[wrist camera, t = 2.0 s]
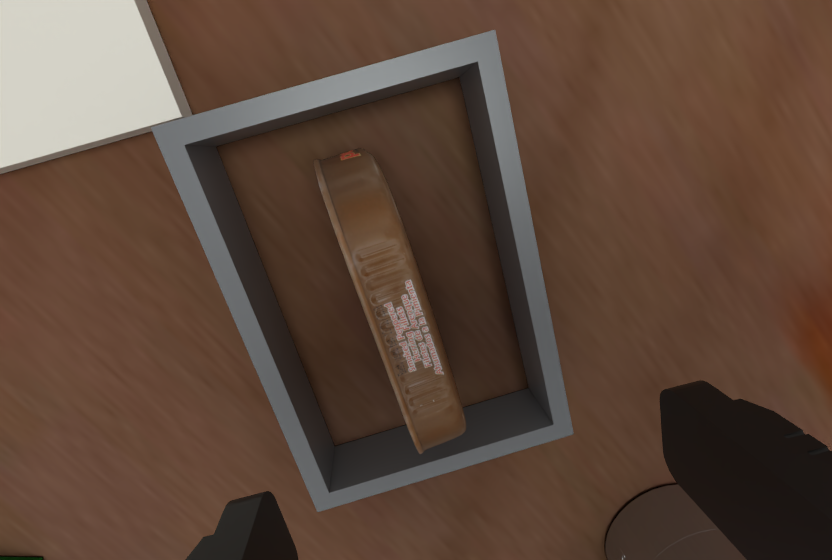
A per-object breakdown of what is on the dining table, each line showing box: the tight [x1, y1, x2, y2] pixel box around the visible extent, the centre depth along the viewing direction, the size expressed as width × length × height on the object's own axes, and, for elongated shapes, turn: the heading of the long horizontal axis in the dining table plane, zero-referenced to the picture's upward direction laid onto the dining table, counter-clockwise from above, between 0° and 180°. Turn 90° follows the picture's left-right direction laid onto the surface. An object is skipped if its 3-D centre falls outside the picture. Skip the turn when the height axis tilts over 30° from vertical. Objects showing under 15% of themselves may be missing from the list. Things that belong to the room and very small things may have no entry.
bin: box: [151, 30, 574, 512], centre depth 23 cm, size 15×21×4 cm
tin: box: [314, 148, 466, 454], centre depth 21 cm, size 15×3×8 cm, turn 17°
